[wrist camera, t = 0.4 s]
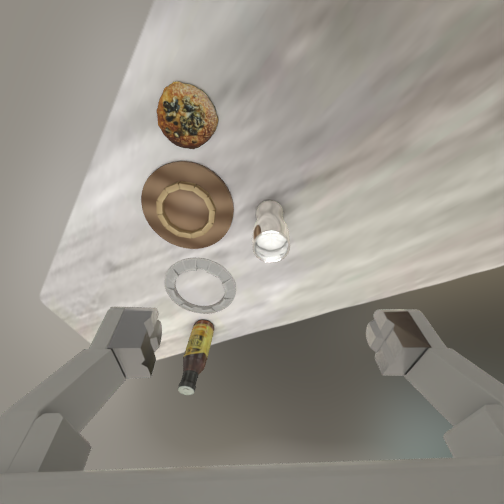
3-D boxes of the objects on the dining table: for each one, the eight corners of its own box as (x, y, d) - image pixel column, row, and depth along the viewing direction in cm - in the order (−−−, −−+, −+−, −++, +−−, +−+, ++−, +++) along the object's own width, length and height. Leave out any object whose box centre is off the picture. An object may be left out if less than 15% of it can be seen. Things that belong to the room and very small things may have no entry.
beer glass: (257, 229, 60) (255, 266, 48) (251, 201, 57) (247, 233, 44) (287, 224, 59) (293, 260, 47) (282, 195, 56) (288, 226, 43)
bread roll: (171, 154, 52) (162, 155, 48) (151, 91, 48) (140, 86, 43) (224, 142, 51) (221, 142, 46) (209, 76, 47) (204, 70, 42)
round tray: (141, 152, 52) (135, 156, 50) (239, 170, 53) (238, 174, 51) (146, 238, 63) (141, 244, 60) (227, 251, 64) (226, 258, 61)
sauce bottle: (207, 316, 76) (191, 380, 59) (218, 329, 79) (206, 394, 62) (189, 322, 78) (168, 387, 61) (200, 335, 81) (184, 400, 64)
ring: (249, 295, 72) (249, 300, 70) (196, 320, 78) (194, 325, 77) (206, 244, 64) (204, 248, 62) (150, 277, 70) (147, 281, 68)
